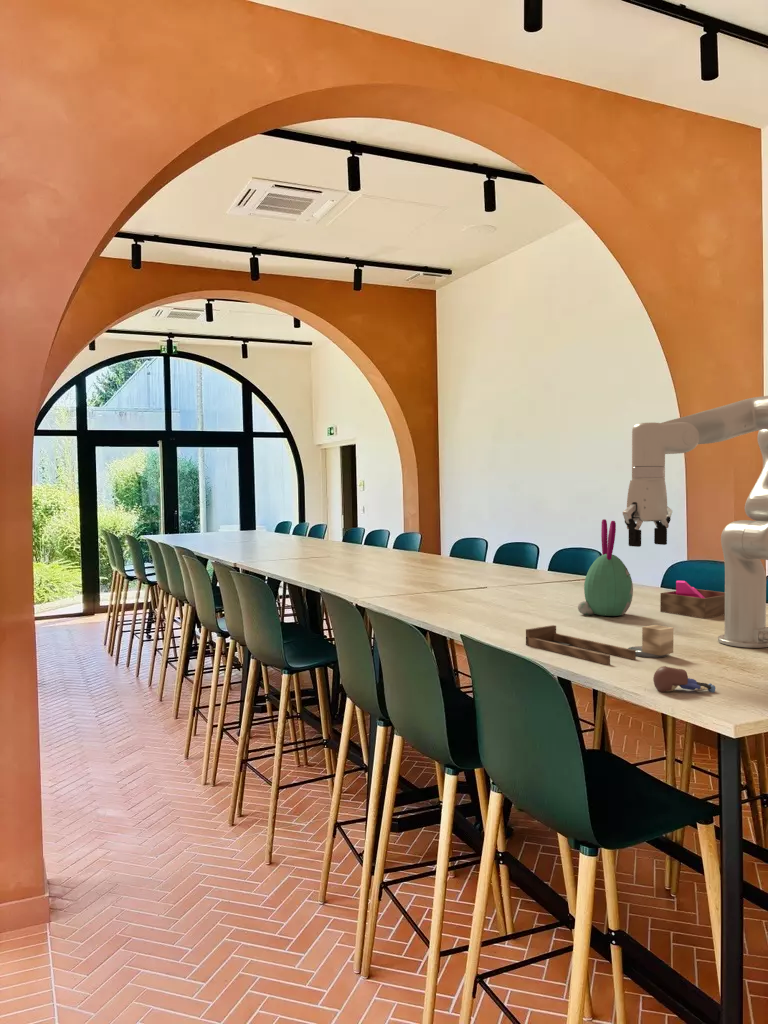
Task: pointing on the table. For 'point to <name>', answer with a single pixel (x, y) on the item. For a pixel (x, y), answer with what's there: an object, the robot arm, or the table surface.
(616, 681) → the table surface
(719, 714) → the table surface
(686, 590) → the bracket
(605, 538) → the toy
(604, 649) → the channel
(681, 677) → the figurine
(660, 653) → the block
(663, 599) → the display box
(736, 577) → the robot arm
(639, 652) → the coaster
